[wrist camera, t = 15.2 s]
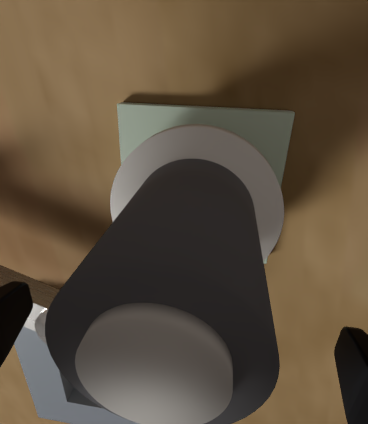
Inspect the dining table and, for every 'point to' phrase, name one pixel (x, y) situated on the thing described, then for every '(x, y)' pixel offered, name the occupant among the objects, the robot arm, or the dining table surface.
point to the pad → (216, 116)
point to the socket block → (56, 386)
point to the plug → (177, 285)
